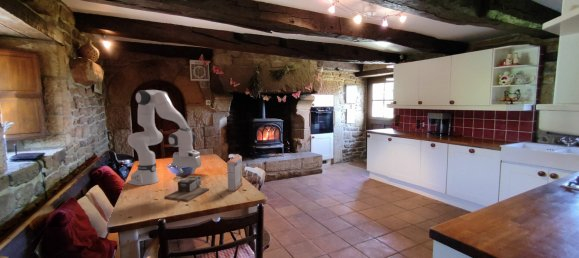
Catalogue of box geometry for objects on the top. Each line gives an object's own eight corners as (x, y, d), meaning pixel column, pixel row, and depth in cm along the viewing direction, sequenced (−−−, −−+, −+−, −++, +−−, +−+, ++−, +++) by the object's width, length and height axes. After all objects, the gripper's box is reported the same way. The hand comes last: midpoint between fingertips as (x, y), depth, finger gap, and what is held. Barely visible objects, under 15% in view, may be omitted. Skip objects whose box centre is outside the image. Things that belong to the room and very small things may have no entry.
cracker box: (234, 184, 203) (234, 157, 201) (242, 185, 202) (242, 157, 200) (227, 191, 189) (226, 161, 187) (235, 191, 188) (235, 161, 186)
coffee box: (201, 176, 199) (189, 182, 183) (201, 184, 200) (190, 192, 184) (189, 175, 200) (177, 181, 184) (190, 183, 201) (177, 191, 185)
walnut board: (164, 198, 175) (164, 196, 175) (187, 187, 196) (187, 186, 196) (188, 201, 170) (188, 199, 170) (209, 190, 191) (208, 188, 191)
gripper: (169, 152, 180) (170, 173, 182) (196, 154, 174) (197, 175, 175) (176, 151, 186) (177, 170, 188) (202, 152, 180) (202, 173, 181)
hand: (187, 173), depth 182 cm, fingers open, 8 cm apart
